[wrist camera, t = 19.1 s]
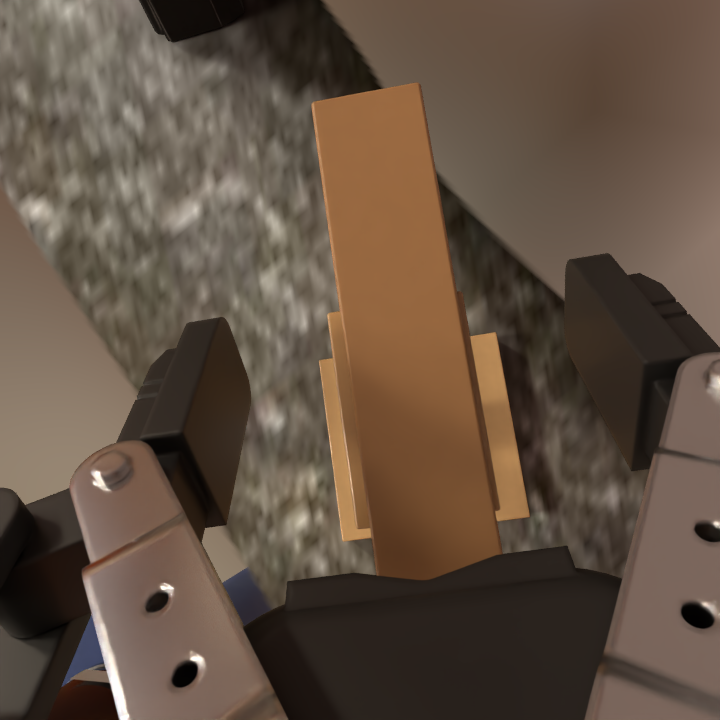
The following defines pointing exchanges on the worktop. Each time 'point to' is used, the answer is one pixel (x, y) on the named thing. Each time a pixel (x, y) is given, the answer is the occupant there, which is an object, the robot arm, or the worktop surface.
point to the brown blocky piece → (403, 337)
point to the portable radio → (190, 16)
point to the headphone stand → (491, 417)
